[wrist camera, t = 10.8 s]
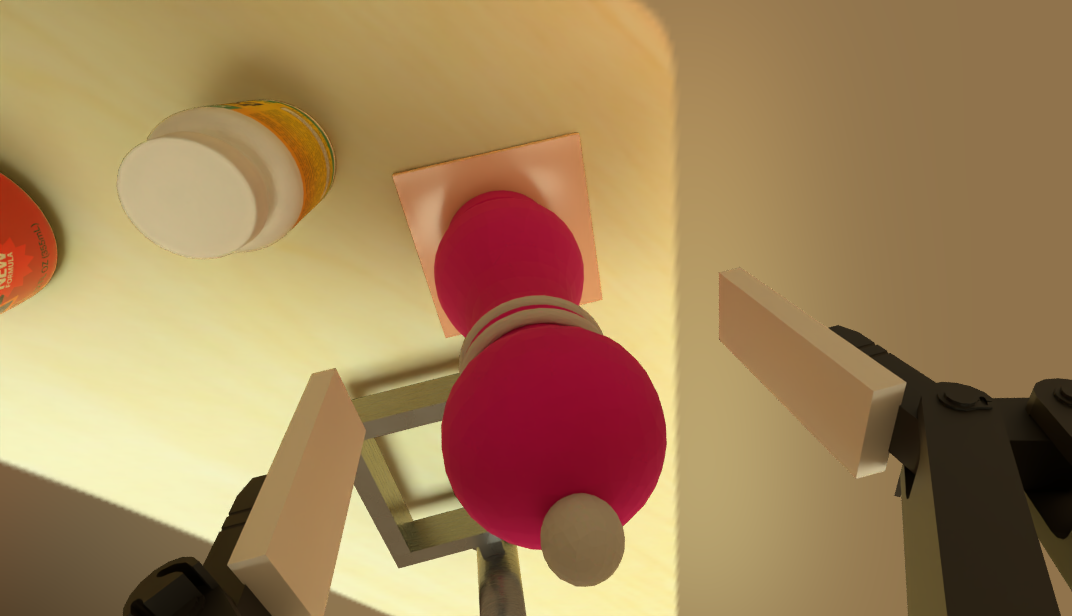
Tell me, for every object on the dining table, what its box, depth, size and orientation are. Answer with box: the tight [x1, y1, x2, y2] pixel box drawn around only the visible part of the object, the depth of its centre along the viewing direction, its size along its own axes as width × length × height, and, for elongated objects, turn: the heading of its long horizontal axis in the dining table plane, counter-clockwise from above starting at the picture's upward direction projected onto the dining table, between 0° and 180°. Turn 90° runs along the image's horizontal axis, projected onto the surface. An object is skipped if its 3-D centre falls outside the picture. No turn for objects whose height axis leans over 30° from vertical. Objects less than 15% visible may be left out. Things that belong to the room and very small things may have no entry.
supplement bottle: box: [117, 100, 336, 259], centre depth 19 cm, size 5×5×10 cm
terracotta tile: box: [392, 132, 602, 338], centre depth 27 cm, size 10×10×1 cm
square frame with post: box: [351, 373, 526, 616], centre depth 31 cm, size 18×12×9 cm
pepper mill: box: [434, 190, 667, 587], centre depth 18 cm, size 7×7×20 cm
